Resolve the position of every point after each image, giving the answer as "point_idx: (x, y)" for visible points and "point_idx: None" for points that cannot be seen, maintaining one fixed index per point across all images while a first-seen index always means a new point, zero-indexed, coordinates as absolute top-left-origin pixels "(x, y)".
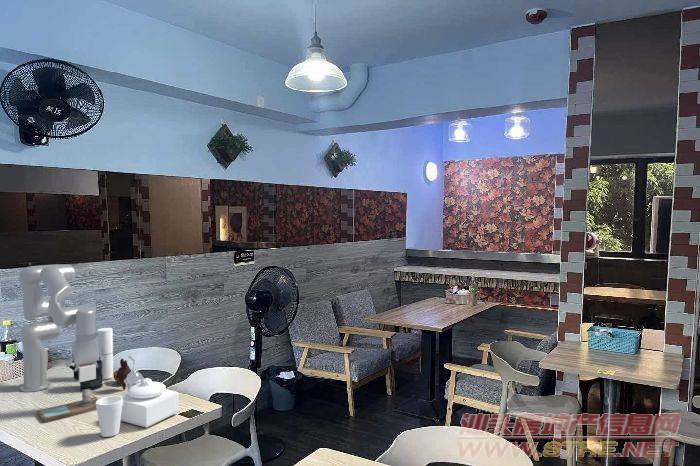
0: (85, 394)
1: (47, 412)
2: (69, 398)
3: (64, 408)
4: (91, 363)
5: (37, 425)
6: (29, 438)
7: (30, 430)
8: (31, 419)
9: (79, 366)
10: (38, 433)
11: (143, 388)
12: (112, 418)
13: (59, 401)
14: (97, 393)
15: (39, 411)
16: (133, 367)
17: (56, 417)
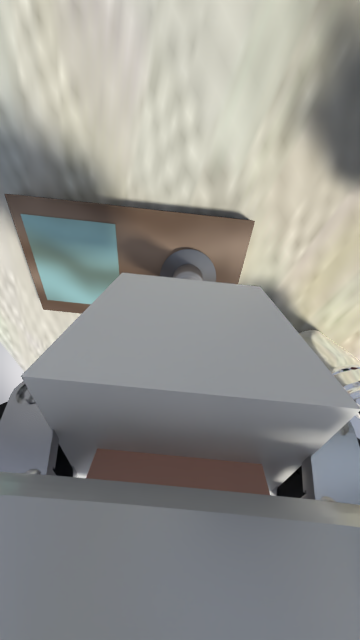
0: None
1: (49, 254)
2: (180, 38)
3: (109, 262)
4: (278, 462)
5: (33, 303)
6: (25, 359)
7: (19, 322)
8: (6, 236)
9: (91, 460)
10: (42, 350)
11: None
12: None
13: (119, 50)
14: (326, 101)
15: (17, 210)
16: None
17: (79, 312)
